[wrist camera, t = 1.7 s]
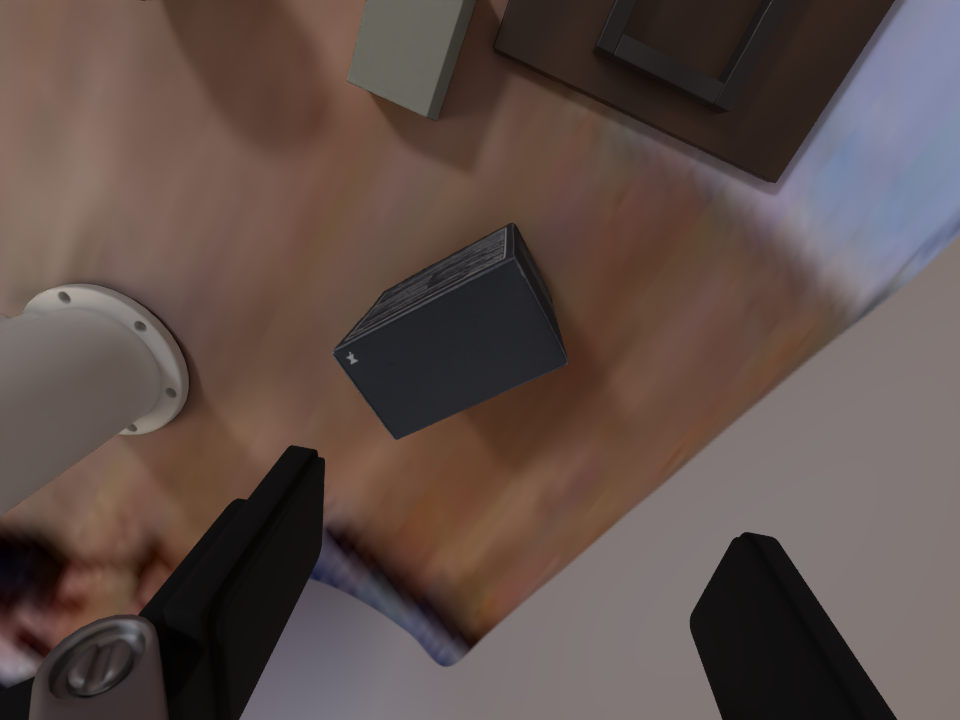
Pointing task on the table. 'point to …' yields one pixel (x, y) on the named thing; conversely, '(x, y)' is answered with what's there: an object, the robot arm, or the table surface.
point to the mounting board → (700, 64)
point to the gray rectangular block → (410, 50)
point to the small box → (454, 335)
